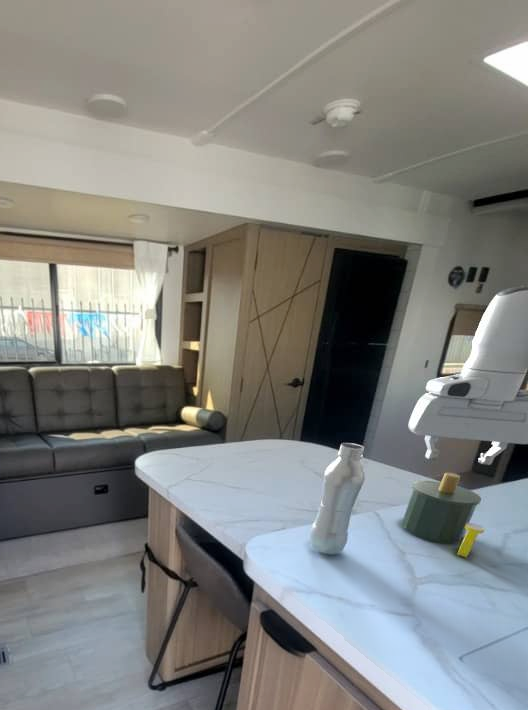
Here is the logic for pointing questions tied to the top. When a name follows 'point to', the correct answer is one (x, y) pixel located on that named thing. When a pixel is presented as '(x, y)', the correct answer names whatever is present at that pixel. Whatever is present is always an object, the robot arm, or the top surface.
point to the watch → (469, 538)
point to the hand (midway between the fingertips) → (457, 461)
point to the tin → (436, 519)
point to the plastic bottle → (338, 500)
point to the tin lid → (447, 491)
